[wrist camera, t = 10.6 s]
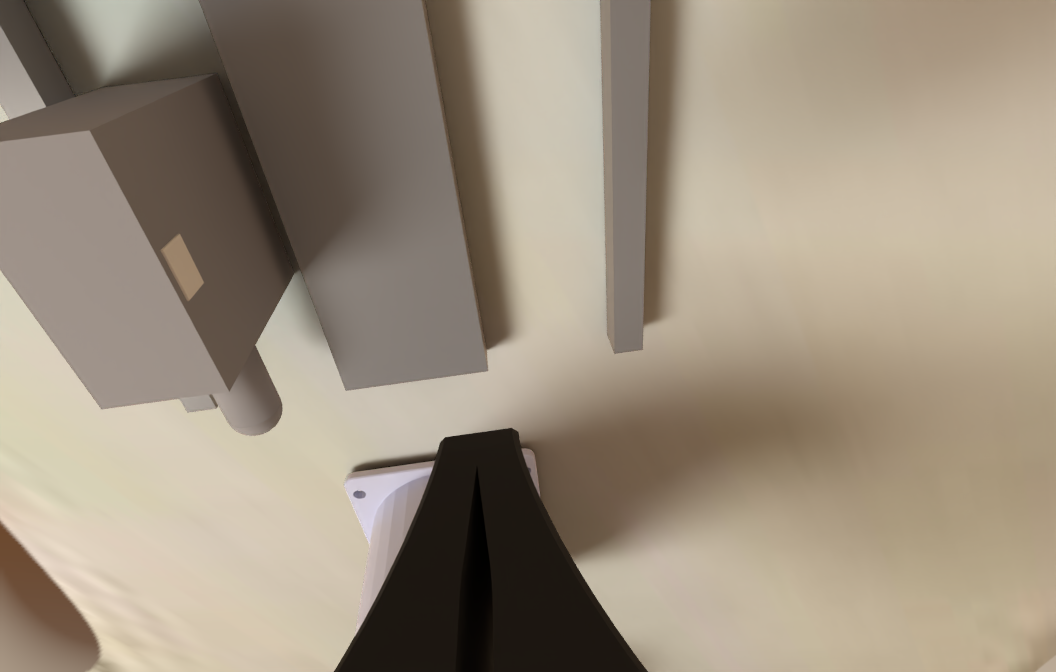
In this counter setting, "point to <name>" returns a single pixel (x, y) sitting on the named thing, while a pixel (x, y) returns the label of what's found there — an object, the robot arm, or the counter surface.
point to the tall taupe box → (146, 245)
